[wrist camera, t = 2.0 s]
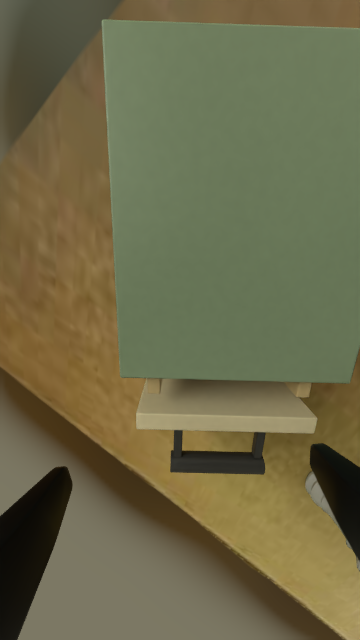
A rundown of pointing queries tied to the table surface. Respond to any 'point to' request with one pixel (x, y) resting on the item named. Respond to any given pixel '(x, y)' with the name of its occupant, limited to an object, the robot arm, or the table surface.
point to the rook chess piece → (322, 501)
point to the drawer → (223, 417)
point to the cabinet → (235, 199)
